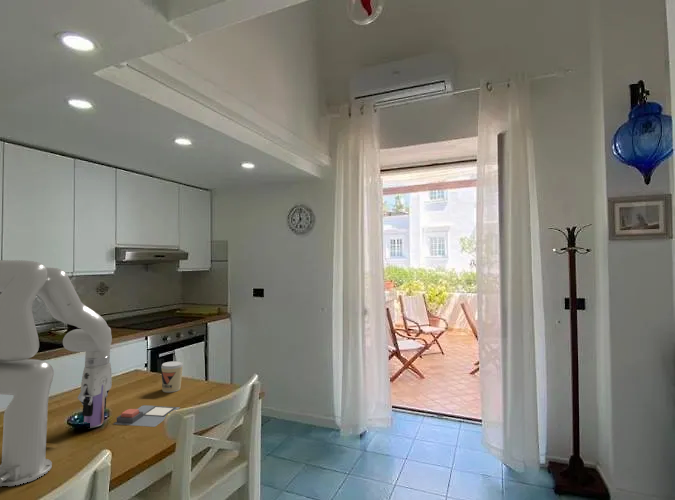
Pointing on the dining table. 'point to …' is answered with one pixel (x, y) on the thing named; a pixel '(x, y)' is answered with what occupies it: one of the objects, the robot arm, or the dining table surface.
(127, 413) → the button
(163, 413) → the picture board
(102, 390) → the beverage can
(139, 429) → the dining table surface
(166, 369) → the coffee cup
